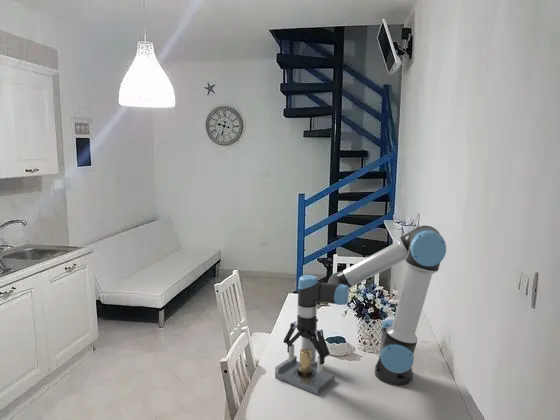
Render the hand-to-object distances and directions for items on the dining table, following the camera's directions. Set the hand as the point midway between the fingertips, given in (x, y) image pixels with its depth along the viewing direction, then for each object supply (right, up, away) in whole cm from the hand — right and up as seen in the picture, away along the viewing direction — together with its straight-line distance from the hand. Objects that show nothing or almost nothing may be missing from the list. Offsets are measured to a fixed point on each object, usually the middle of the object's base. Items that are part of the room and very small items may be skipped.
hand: (305, 365), depth 171 cm
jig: (0, -6, +1) cm, 6 cm away
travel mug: (+2, -4, +14) cm, 15 cm away
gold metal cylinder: (0, -6, +1) cm, 6 cm away
